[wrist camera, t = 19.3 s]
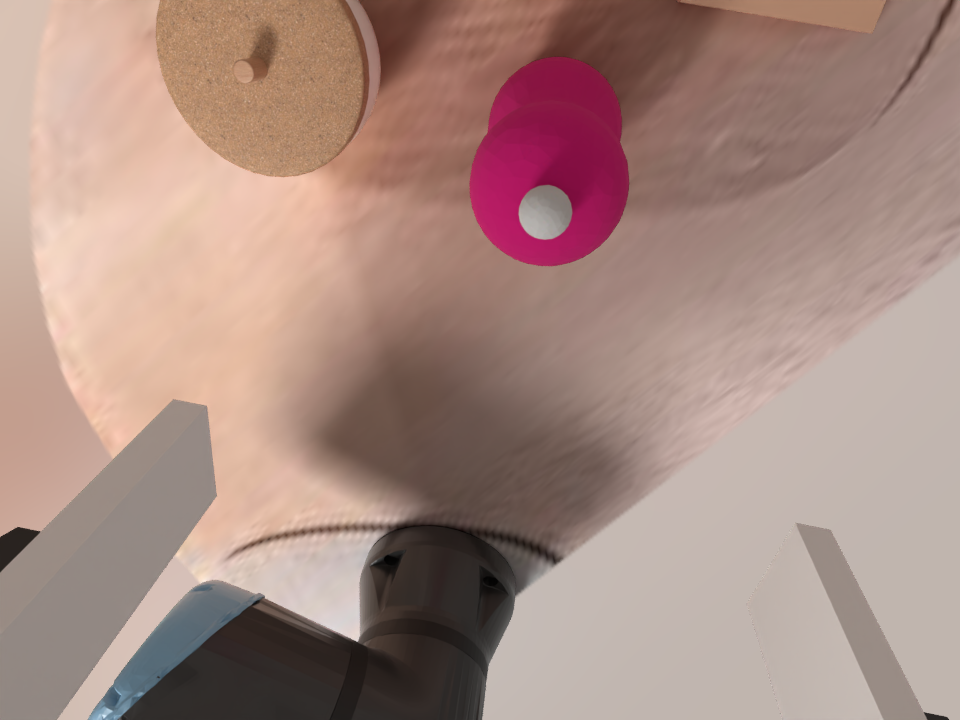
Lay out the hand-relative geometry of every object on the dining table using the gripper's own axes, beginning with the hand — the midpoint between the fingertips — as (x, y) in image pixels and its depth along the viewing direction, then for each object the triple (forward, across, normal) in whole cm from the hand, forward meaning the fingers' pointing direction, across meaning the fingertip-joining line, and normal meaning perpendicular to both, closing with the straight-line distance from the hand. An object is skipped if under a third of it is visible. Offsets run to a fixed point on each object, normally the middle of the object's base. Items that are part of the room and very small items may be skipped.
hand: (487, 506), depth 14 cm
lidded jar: (+29, +15, -5) cm, 33 cm away
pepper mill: (+29, 0, -4) cm, 29 cm away
